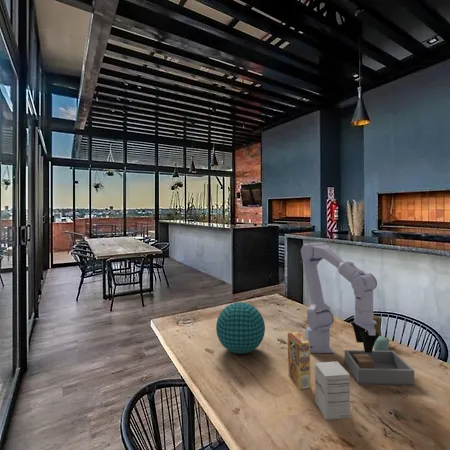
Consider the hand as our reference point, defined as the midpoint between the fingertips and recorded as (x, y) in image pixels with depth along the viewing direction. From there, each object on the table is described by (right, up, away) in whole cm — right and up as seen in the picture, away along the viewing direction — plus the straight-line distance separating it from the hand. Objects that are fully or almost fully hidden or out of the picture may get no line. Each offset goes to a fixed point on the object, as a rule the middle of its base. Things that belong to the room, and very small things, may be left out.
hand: (363, 347), depth 103 cm
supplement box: (-18, -11, -18) cm, 28 cm away
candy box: (-24, -10, -4) cm, 26 cm away
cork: (+16, -8, +25) cm, 31 cm away
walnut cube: (0, -9, 0) cm, 9 cm away
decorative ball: (-42, -10, +19) cm, 47 cm away
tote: (+5, -9, 0) cm, 10 cm away
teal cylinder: (+12, -9, +12) cm, 19 cm away
